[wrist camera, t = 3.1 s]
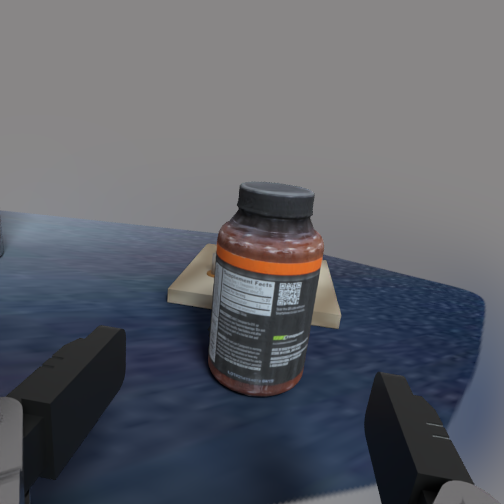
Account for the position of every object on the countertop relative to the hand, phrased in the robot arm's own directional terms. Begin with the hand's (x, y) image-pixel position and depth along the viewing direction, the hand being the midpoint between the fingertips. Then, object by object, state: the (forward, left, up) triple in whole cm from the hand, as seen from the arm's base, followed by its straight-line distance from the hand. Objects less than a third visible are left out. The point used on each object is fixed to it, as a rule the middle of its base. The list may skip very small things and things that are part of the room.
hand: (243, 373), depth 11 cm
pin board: (-1, +24, -6) cm, 24 cm away
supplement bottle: (0, +10, -7) cm, 12 cm away
